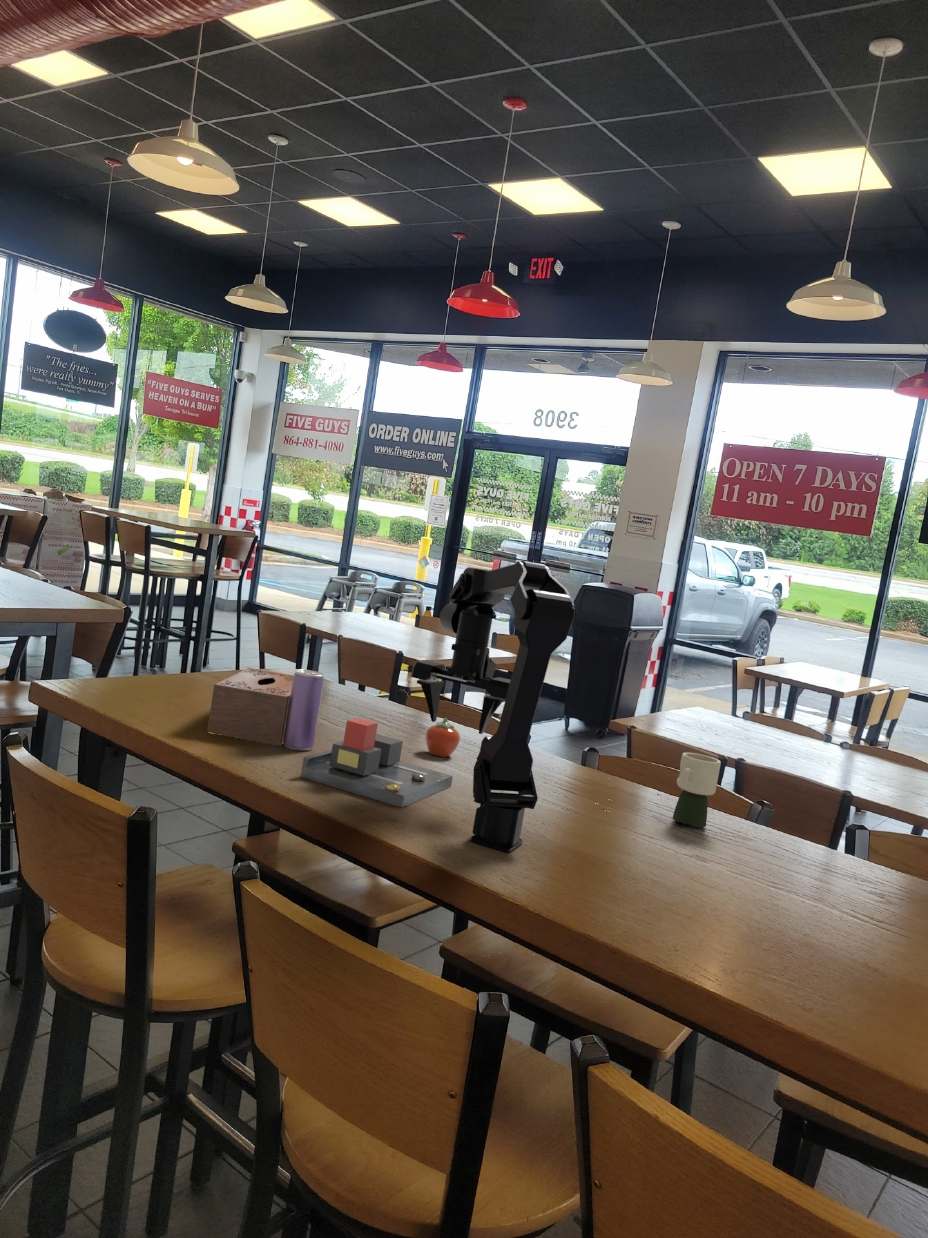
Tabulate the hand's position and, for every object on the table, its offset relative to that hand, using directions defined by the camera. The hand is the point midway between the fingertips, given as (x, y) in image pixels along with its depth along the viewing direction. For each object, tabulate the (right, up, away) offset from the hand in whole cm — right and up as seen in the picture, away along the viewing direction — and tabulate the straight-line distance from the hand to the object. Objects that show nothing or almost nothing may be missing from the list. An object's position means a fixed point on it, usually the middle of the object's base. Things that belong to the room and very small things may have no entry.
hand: (457, 727), depth 157 cm
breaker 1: (-18, -7, 0) cm, 20 cm away
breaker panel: (-14, -10, +3) cm, 18 cm away
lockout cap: (-17, -3, 0) cm, 18 cm away
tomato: (-4, -10, +32) cm, 34 cm away
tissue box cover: (-42, -4, +29) cm, 51 cm away
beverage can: (-31, -6, +18) cm, 36 cm away
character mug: (+43, -20, +10) cm, 49 cm away
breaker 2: (-15, -7, +10) cm, 19 cm away
